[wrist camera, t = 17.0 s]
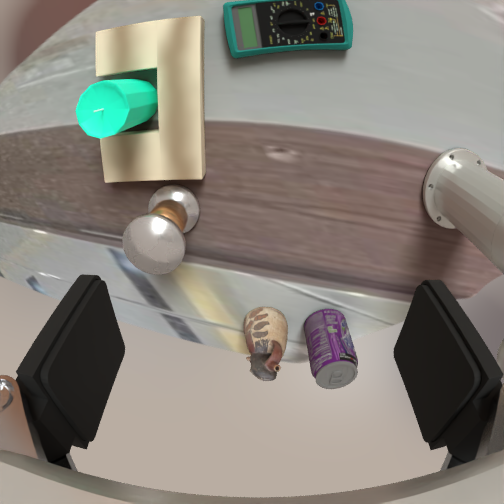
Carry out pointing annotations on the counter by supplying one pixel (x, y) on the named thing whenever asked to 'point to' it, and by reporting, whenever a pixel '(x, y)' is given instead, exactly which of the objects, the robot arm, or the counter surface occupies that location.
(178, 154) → the notched board
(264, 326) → the figurine
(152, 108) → the candle
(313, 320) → the beverage can
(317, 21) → the digital multimeter
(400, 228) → the counter surface
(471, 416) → the robot arm
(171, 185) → the bobbin post
